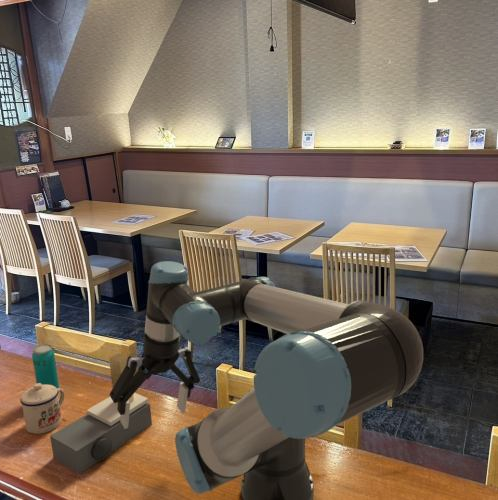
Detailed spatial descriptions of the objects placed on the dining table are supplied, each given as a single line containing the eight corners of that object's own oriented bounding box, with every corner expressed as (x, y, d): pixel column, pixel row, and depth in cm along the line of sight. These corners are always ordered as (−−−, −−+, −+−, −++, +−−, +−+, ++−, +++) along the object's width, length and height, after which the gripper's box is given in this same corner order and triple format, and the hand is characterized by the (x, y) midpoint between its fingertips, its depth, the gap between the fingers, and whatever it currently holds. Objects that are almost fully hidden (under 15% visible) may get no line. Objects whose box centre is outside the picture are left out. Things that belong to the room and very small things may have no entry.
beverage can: (44, 390, 148) (36, 344, 144) (63, 390, 148) (56, 343, 144) (35, 401, 142) (27, 353, 138) (55, 401, 142) (48, 353, 138)
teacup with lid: (42, 439, 126) (35, 397, 123) (17, 429, 130) (10, 389, 127) (78, 413, 136) (72, 374, 133) (54, 405, 140) (48, 367, 137)
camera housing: (125, 412, 136) (123, 392, 134) (155, 425, 130) (153, 405, 128) (53, 457, 119) (49, 435, 117) (83, 476, 113) (79, 452, 111)
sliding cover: (124, 391, 134) (119, 347, 131) (148, 402, 129) (143, 355, 125) (87, 413, 125) (80, 366, 121) (110, 425, 120) (104, 376, 116)
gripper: (206, 316, 116) (195, 394, 123) (97, 334, 102) (92, 420, 109) (222, 332, 110) (210, 413, 117) (110, 353, 96) (103, 443, 103)
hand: (153, 416), depth 113 cm, fingers open, 13 cm apart
